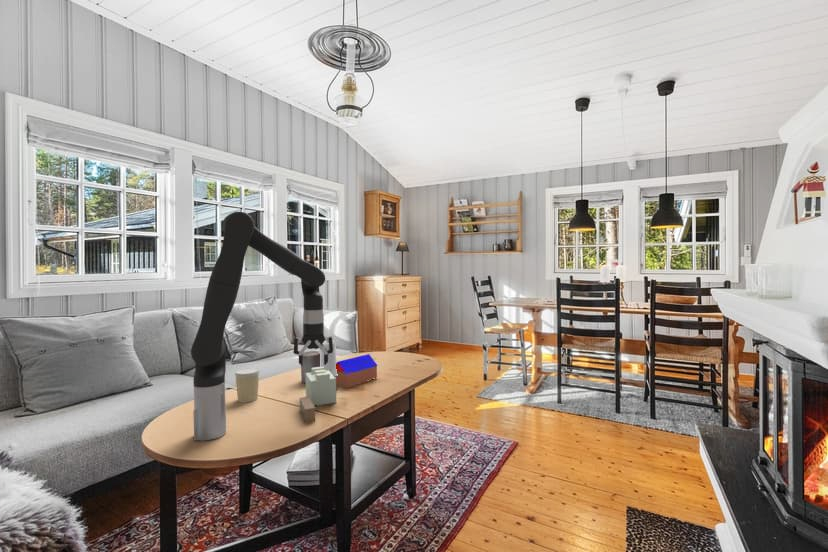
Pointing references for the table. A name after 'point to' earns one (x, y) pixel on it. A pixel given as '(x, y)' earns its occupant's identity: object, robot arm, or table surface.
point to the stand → (321, 386)
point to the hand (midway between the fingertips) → (313, 364)
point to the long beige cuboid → (307, 409)
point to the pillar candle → (309, 363)
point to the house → (355, 370)
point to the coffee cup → (247, 384)
